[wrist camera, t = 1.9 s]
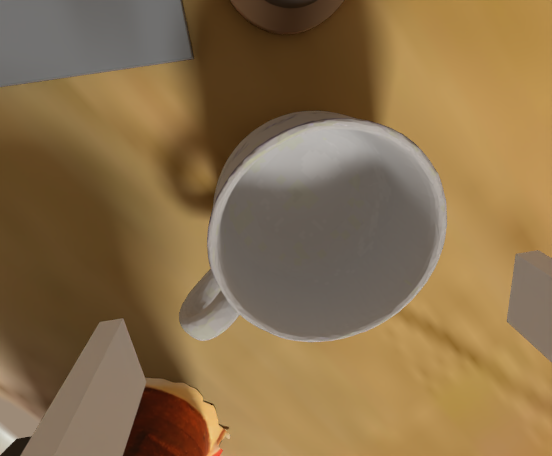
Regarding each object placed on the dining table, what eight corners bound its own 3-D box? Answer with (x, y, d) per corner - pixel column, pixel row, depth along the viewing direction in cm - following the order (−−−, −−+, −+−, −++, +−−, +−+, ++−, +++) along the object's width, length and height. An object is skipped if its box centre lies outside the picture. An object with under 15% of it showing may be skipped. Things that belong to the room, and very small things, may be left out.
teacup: (350, 70, 20) (414, 66, 13) (406, 228, 25) (478, 292, 17) (136, 179, 22) (83, 231, 14) (224, 312, 26) (218, 406, 18)
